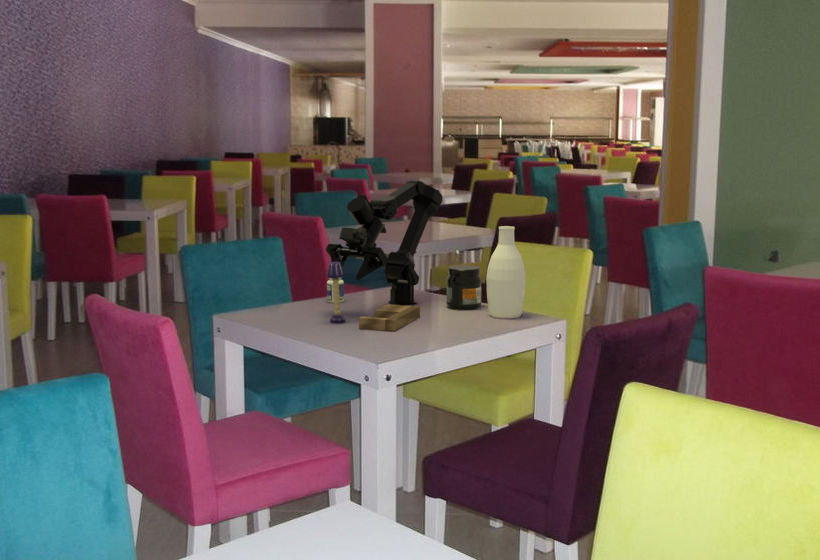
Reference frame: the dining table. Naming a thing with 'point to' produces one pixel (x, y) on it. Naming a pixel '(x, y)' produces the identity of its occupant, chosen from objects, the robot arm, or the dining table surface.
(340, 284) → the pill bottle
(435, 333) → the dining table surface
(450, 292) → the supplement container
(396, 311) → the notched board
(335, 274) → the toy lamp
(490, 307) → the bottle
